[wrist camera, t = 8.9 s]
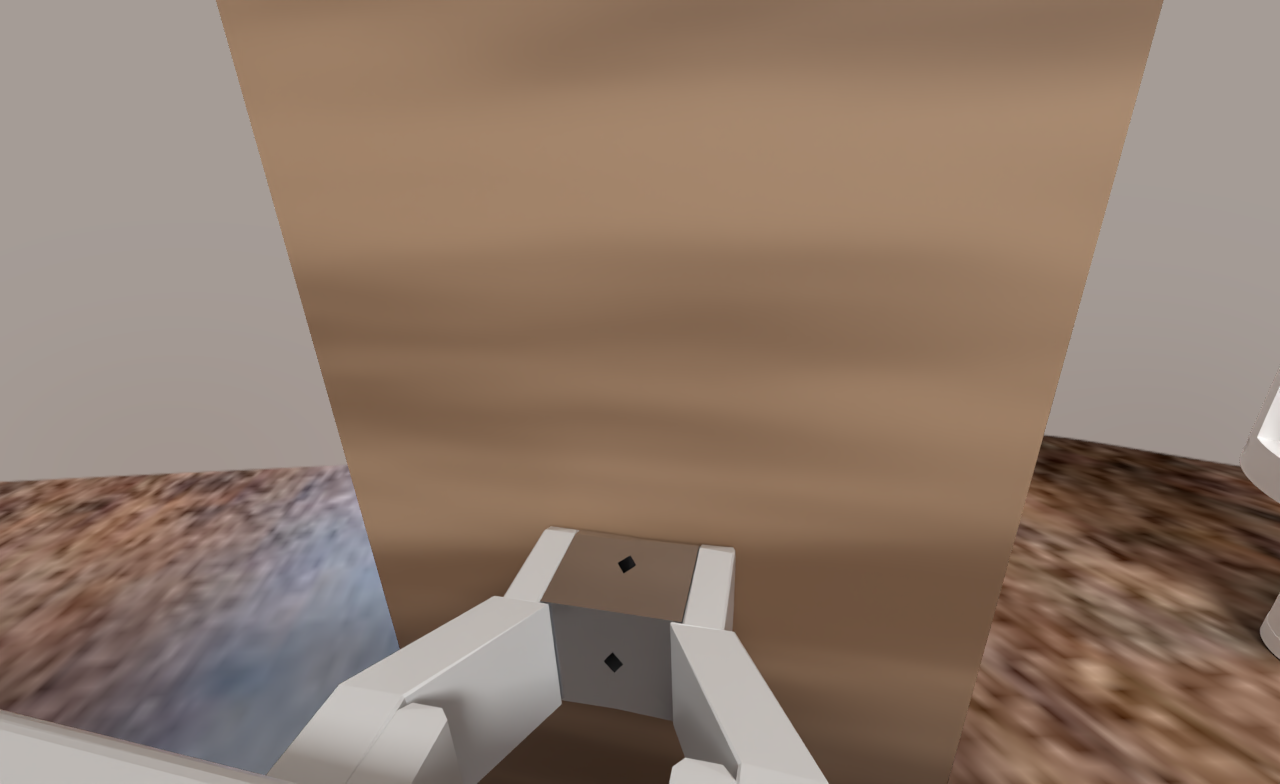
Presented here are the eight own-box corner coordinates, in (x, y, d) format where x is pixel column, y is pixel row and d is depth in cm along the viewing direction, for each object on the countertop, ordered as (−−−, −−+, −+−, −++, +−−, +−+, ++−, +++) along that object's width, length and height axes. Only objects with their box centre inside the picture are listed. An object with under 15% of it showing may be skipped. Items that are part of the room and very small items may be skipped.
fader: (927, 932, 11) (1351, -472, 4) (427, 809, 13) (119, -205, 6) (896, 749, 14) (1099, -206, 7) (497, 676, 16) (347, -96, 9)
